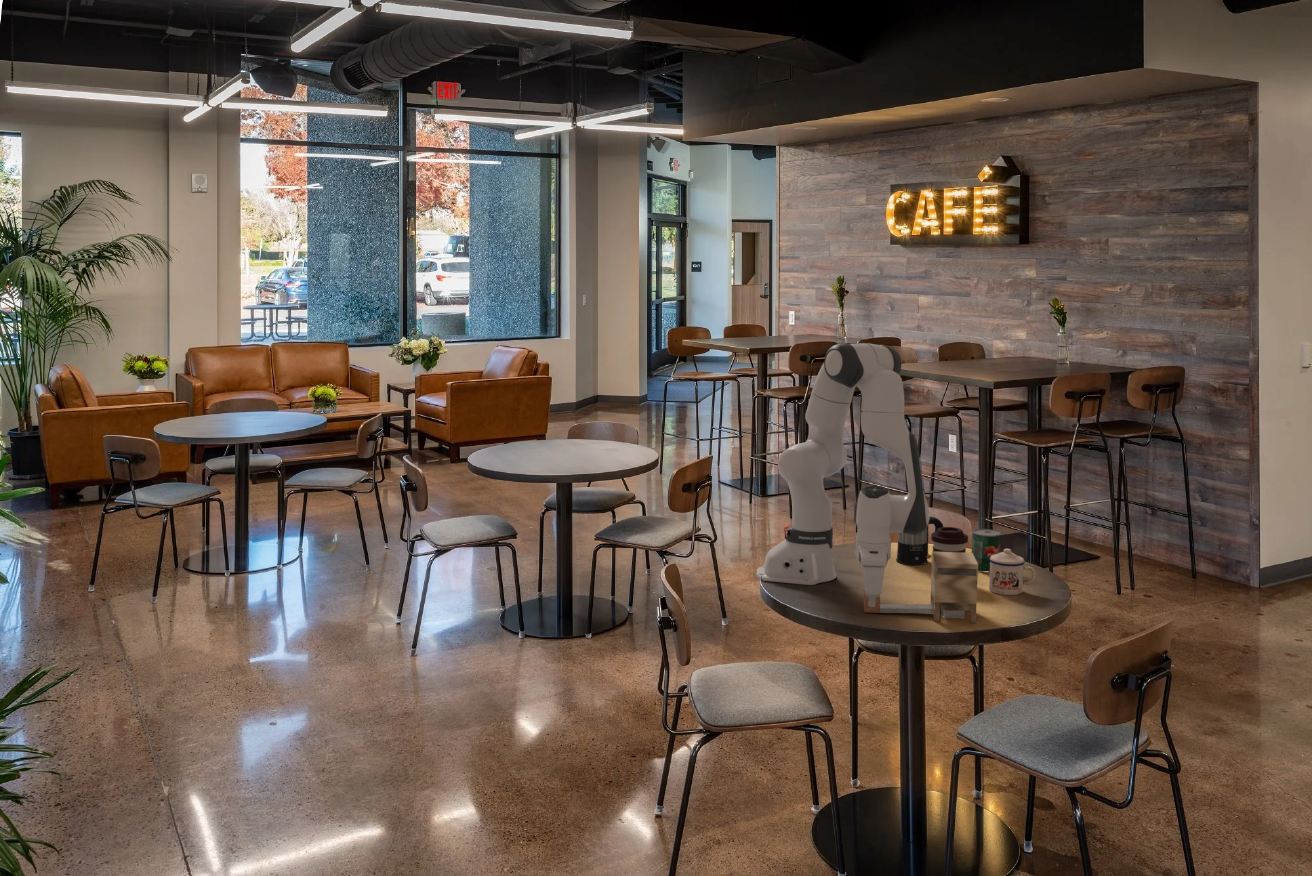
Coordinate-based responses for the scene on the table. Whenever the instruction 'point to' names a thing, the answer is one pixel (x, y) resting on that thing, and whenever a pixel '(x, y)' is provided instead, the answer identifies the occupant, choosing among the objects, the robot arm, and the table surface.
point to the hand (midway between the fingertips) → (871, 603)
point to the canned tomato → (985, 546)
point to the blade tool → (897, 607)
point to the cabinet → (954, 581)
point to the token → (952, 611)
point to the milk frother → (915, 545)
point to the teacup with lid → (1007, 573)
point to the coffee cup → (949, 540)
